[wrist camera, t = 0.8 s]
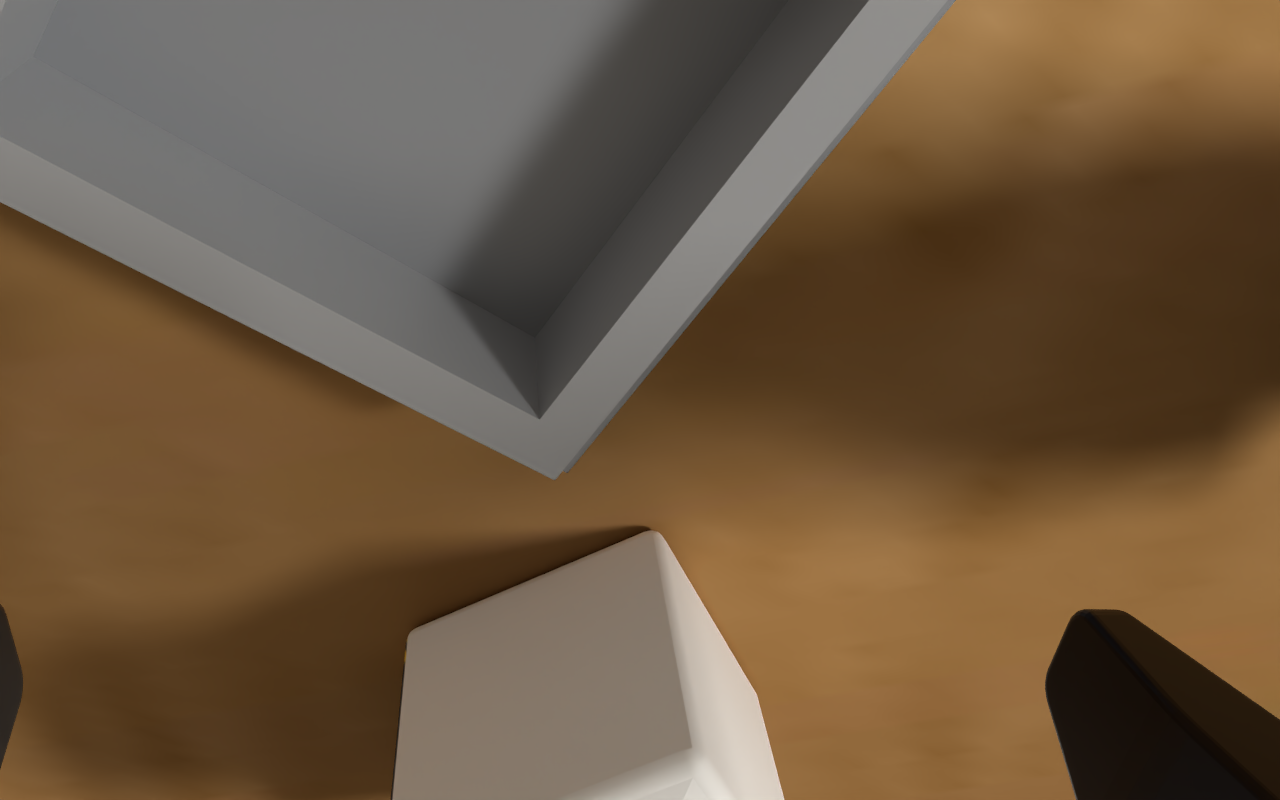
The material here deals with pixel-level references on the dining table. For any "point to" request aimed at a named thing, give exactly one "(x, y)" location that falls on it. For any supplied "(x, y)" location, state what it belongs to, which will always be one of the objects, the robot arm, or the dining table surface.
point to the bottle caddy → (442, 174)
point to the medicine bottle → (582, 692)
